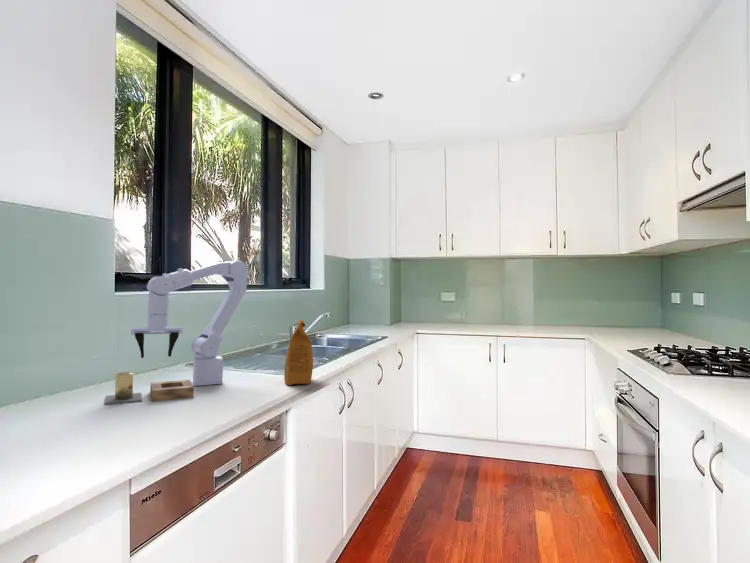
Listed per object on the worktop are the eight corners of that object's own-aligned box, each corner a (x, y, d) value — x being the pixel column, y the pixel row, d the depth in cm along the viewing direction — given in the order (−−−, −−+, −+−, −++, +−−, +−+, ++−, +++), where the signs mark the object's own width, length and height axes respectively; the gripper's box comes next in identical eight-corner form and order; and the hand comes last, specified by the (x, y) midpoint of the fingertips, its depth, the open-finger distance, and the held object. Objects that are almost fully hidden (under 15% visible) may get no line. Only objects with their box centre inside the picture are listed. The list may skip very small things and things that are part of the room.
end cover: (135, 395, 123) (135, 371, 123) (129, 399, 119) (129, 374, 119) (118, 395, 122) (118, 371, 122) (112, 400, 118) (112, 375, 118)
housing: (188, 388, 135) (189, 379, 135) (193, 397, 125) (193, 387, 125) (150, 392, 129) (150, 382, 129) (152, 401, 120) (152, 390, 120)
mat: (141, 393, 127) (141, 392, 127) (141, 401, 119) (142, 399, 119) (106, 397, 122) (106, 395, 122) (104, 405, 115) (104, 403, 115)
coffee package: (312, 378, 156) (314, 319, 156) (312, 386, 144) (314, 322, 144) (285, 378, 154) (287, 319, 155) (283, 386, 142) (285, 322, 142)
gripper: (181, 313, 140) (179, 353, 140) (131, 313, 133) (129, 355, 133) (183, 314, 134) (182, 356, 134) (131, 314, 127) (129, 359, 127)
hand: (156, 356), depth 133 cm, fingers open, 7 cm apart
